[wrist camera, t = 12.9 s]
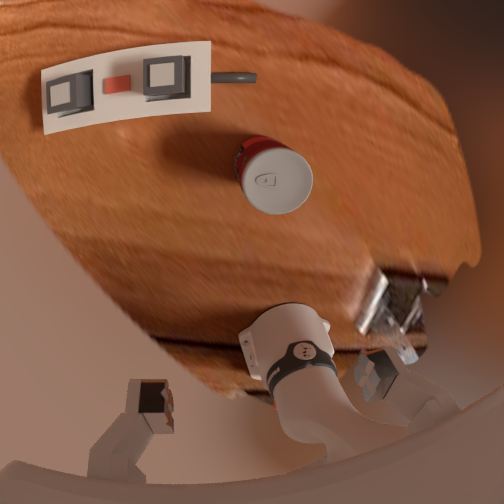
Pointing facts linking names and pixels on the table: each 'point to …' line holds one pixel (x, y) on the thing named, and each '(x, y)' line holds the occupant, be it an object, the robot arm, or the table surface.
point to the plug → (164, 76)
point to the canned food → (272, 175)
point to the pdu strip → (136, 95)
